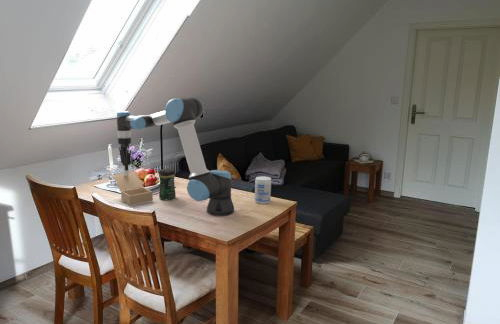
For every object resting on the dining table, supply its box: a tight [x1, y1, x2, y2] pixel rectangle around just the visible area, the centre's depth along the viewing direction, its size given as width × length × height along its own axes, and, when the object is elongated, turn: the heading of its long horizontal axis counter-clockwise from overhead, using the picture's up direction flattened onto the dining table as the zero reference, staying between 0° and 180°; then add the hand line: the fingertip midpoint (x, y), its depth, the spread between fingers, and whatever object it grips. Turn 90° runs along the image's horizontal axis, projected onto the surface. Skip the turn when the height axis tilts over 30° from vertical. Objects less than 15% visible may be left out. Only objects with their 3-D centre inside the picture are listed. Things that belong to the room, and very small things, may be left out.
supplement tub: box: [254, 175, 272, 205], centre depth 232 cm, size 10×10×15 cm
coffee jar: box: [158, 167, 177, 201], centre depth 235 cm, size 10×8×19 cm
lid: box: [113, 171, 144, 192], centre depth 237 cm, size 12×14×1 cm
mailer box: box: [120, 186, 154, 207], centre depth 230 cm, size 12×14×6 cm
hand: (126, 175), depth 238 cm, fingers closed
